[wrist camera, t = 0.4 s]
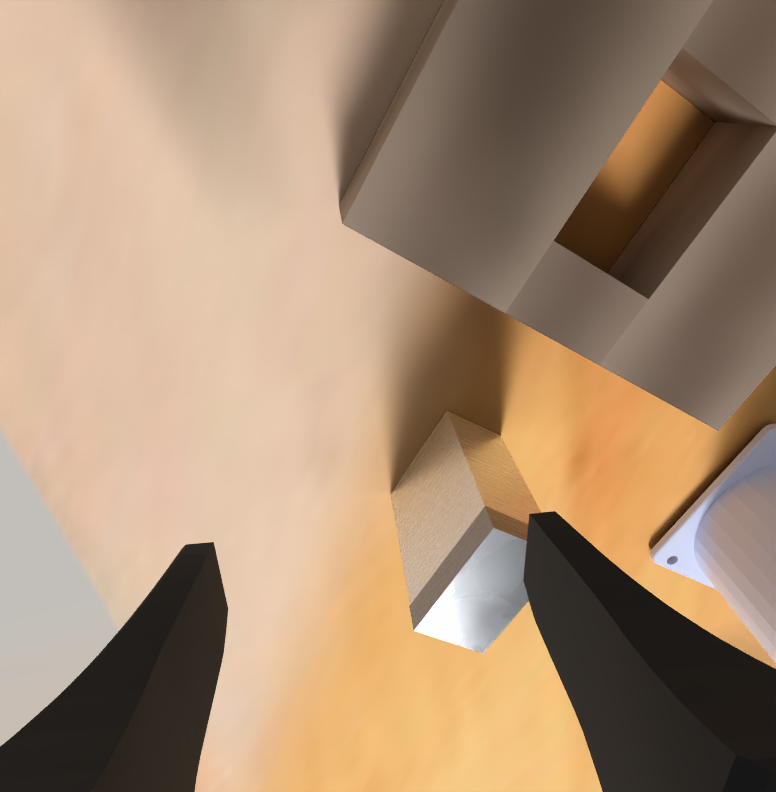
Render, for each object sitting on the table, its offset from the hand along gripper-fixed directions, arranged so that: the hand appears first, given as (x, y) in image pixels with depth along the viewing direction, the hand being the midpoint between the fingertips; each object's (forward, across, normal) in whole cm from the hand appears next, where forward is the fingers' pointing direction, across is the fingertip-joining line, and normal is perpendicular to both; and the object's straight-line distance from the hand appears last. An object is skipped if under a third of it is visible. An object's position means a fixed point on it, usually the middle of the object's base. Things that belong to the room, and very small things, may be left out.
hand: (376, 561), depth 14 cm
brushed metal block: (+10, -3, +4) cm, 11 cm away
